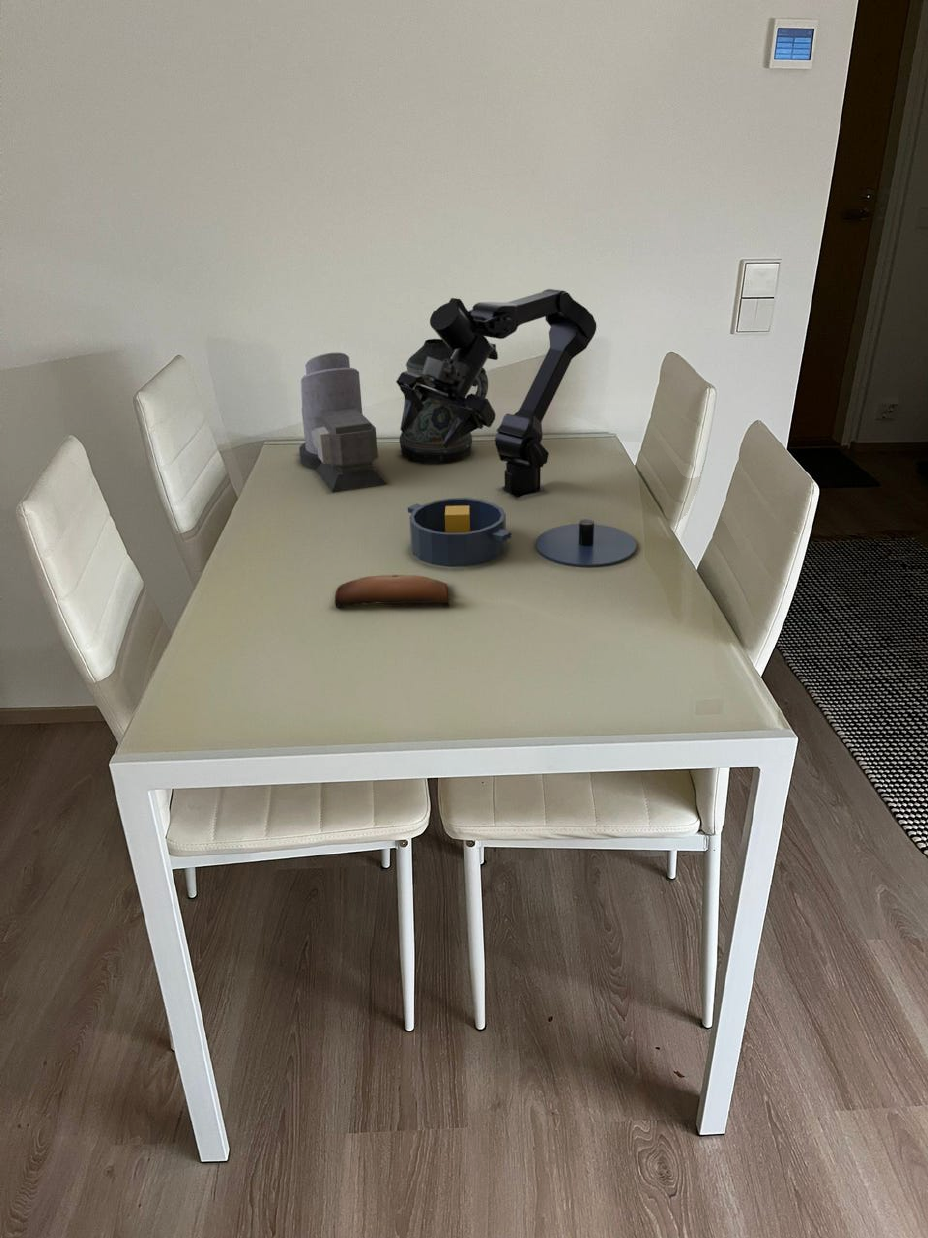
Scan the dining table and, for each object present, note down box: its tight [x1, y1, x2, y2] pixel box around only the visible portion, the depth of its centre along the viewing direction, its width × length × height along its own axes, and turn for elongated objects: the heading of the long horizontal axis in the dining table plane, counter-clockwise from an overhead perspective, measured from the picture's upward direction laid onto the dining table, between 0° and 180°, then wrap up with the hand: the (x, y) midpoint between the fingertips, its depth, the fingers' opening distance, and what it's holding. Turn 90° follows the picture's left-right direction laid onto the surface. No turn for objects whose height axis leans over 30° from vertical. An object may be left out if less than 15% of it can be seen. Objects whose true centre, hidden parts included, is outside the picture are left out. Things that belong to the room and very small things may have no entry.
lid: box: [535, 518, 638, 568], centre depth 168 cm, size 18×18×5 cm
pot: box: [407, 497, 512, 568], centre depth 169 cm, size 17×22×6 cm
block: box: [445, 506, 471, 533], centre depth 169 cm, size 4×4×7 cm
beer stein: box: [399, 338, 489, 465], centre depth 212 cm, size 16×19×25 cm
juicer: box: [298, 352, 388, 493], centre depth 206 cm, size 30×16×24 cm, turn 20°
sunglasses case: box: [334, 574, 451, 608], centre depth 154 cm, size 18×7×7 cm, turn 90°
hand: (422, 438), depth 169 cm, fingers open, 9 cm apart
